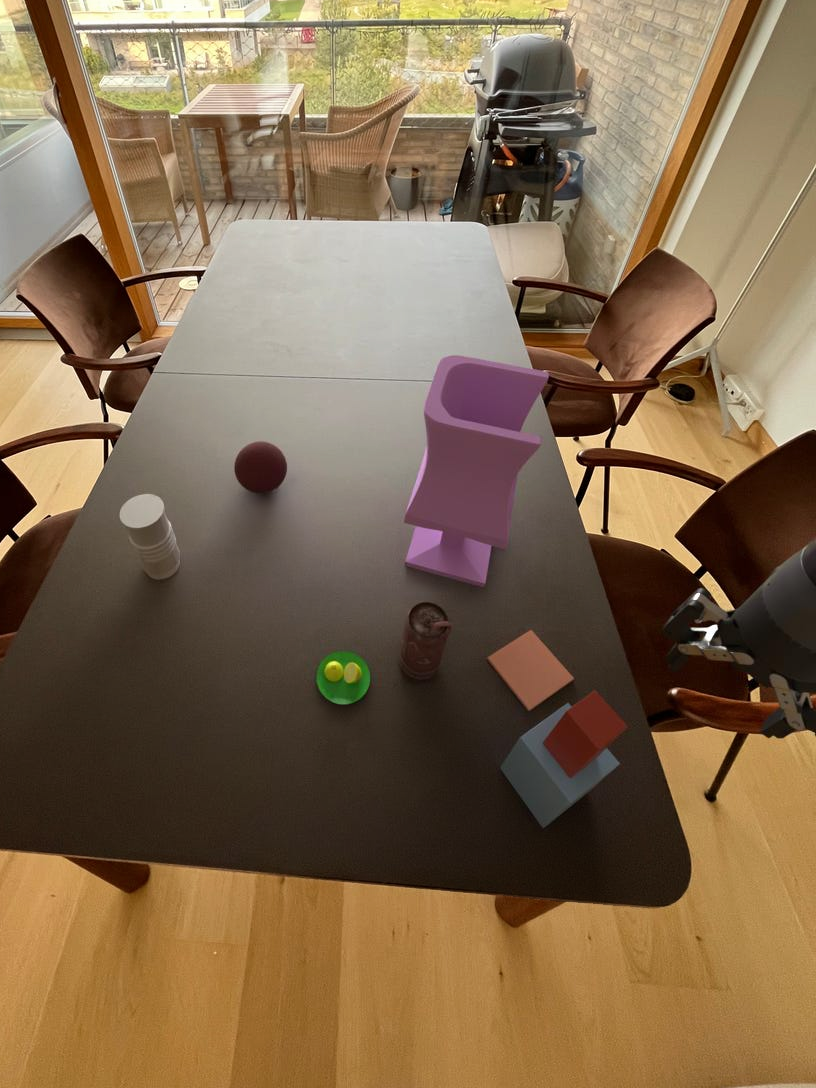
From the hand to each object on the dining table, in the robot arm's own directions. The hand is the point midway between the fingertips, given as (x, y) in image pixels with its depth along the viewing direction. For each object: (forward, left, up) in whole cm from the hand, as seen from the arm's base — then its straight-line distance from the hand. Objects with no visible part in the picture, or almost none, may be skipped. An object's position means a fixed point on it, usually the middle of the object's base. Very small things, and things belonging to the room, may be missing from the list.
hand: (719, 695), depth 55 cm
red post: (+5, +8, -17) cm, 19 cm away
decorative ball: (+71, +18, -29) cm, 79 cm away
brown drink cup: (+26, +13, -29) cm, 41 cm away
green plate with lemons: (+30, +24, -29) cm, 48 cm away
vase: (+41, -5, -29) cm, 50 cm away
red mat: (+17, -1, -29) cm, 33 cm away
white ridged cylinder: (+63, +41, -29) cm, 81 cm away
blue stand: (+5, +8, -29) cm, 30 cm away
